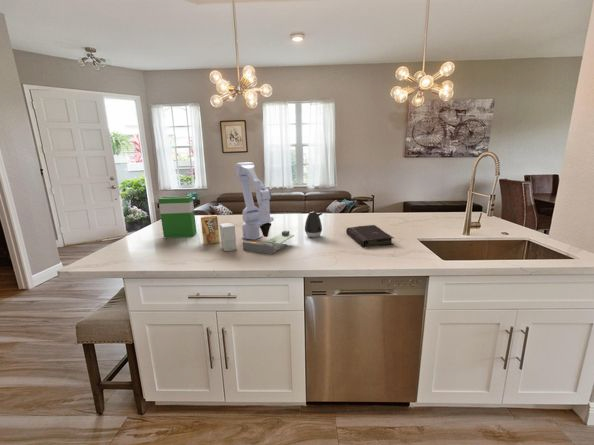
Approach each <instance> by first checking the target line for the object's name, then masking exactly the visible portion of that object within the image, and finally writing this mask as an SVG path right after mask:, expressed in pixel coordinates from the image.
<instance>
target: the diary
mask: <svg viewBox="0 0 594 445" xmlns="http://www.w3.org/2000/svg"><path fill="white" fill-rule="evenodd" d="M345 231H346V235H347V236H349V237H350V239H353V241H355V243H357V244H358V245H359V246H360V247H361V248H364V247H366V248H367V247H375V246H376V247H378V246H380V247H384V246H385V247H386V246H393V245H394V243H392V240H393V239H395V238H394V237H393V236H391V235H390V234H389V233H387V232H385V231H384V230H383V229H382V228H380V227H378V226H377V225H375V224H369V225H359V226H352V227H347V228H346V230H345Z"/></svg>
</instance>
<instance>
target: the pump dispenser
mask: <svg viewBox="0 0 594 445" xmlns="http://www.w3.org/2000/svg"><path fill="white" fill-rule="evenodd" d="M321 215H323V212H319V213H318V212H317V211H313V210H312V211H310V212H309V213H308V215H307V217H306V220H305V224H304V232H305V234H306V236H308V237H309V238H318V237H320V236H321V233H322V232H323V226H322V225H323V224H322V221H321V218H320V216H321Z"/></svg>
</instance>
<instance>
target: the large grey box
mask: <svg viewBox="0 0 594 445" xmlns="http://www.w3.org/2000/svg"><path fill="white" fill-rule="evenodd" d="M266 241H267V240H257V241H256V242H257V243H251V242H252V241H250V242H249V241H242V250H245V251H250V252H256V253H261V254H262V253H263V254H268V255H273V254H275V253H277V252H278V251H281V249H283V248H284V247H287V243H282V244H280V245H279V244H272V243H266ZM258 243H264V244H258ZM265 244H266V245H265Z"/></svg>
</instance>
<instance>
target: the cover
mask: <svg viewBox="0 0 594 445" xmlns="http://www.w3.org/2000/svg"><path fill="white" fill-rule="evenodd" d="M293 237H295V235H294V234H292V233H291V234H290V230H283V231H281V233H279V234H277V235H276V236H273V237H272V238H269V239H268V240H265V241H266V243H272V244H279V245H280V244H284V243H285V242H286V241H288V240H290V239H291V238H293Z"/></svg>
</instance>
